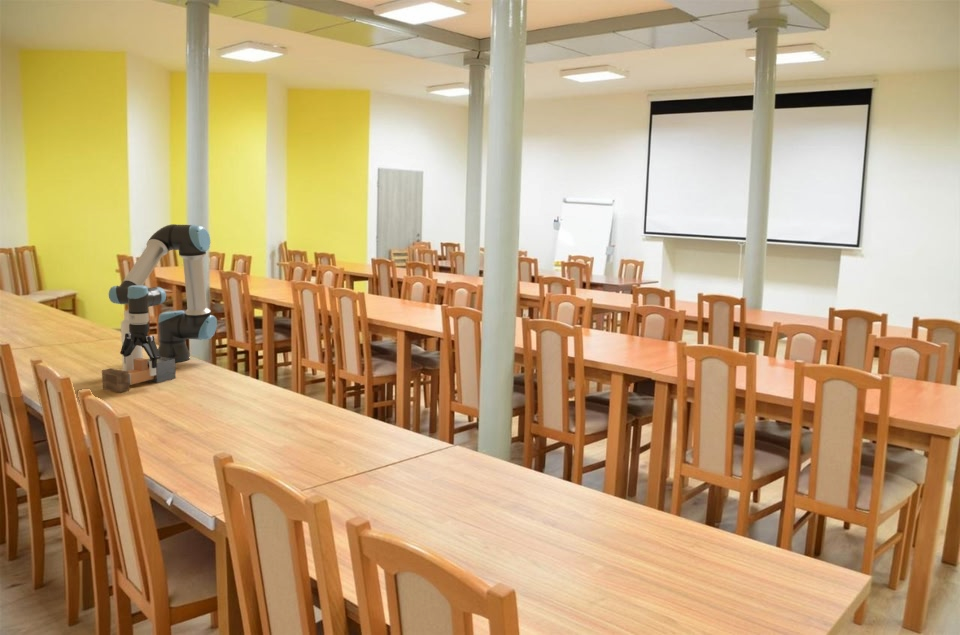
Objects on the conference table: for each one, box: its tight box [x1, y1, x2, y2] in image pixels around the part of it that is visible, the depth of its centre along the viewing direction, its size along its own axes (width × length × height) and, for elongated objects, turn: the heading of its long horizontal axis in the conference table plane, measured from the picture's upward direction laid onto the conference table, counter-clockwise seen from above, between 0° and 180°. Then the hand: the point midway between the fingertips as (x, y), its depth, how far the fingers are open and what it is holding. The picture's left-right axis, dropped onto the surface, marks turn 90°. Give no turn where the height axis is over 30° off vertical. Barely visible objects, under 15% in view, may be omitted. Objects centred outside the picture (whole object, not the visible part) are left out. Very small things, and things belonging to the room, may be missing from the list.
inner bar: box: [128, 358, 154, 386], centre depth 315 cm, size 20×4×9 cm, turn 156°
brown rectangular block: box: [101, 368, 130, 394], centre depth 302 cm, size 4×10×8 cm, turn 66°
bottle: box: [120, 309, 144, 371], centre depth 327 cm, size 8×8×28 cm
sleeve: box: [146, 357, 177, 384], centre depth 321 cm, size 10×9×9 cm
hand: (140, 373), depth 313 cm, fingers open, 13 cm apart
